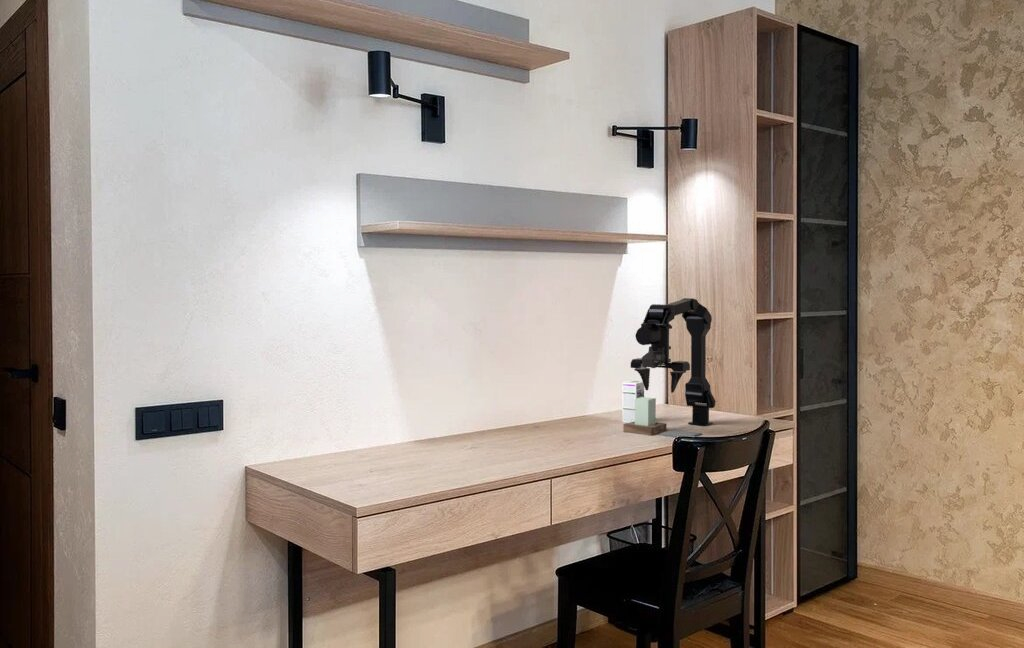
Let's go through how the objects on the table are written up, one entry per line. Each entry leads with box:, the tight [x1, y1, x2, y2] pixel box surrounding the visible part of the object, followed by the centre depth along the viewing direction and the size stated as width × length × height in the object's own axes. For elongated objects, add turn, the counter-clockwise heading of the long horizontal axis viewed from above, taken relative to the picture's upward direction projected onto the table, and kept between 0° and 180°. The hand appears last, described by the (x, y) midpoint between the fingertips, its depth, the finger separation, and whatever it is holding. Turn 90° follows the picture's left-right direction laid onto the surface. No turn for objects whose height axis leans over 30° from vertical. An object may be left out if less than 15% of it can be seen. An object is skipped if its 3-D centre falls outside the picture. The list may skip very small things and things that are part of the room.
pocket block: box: [622, 421, 668, 436], centre depth 282 cm, size 10×10×2 cm
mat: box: [659, 428, 702, 438], centre depth 276 cm, size 10×10×1 cm
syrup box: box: [621, 380, 645, 424], centre depth 299 cm, size 6×6×14 cm
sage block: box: [635, 396, 657, 426], centre depth 281 cm, size 5×5×11 cm
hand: (659, 391), depth 275 cm, fingers open, 9 cm apart
